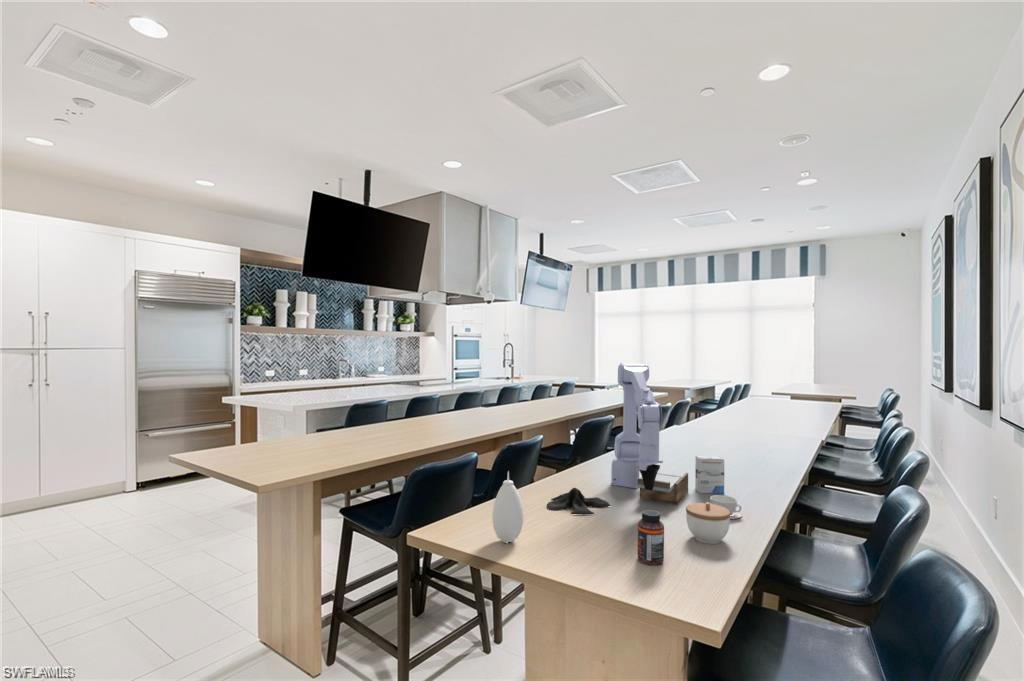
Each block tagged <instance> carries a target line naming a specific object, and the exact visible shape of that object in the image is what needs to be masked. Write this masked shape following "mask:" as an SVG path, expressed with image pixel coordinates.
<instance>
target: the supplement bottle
mask: <svg viewBox="0 0 1024 681" xmlns="http://www.w3.org/2000/svg"><path fill="white" fill-rule="evenodd" d="M637 559H638V561H639V562H640V563H642V564H644V565H647V564H648V566H653V565H654V566H661V565H662V564H663V563H664V560H665V524H664V523H663V521H661V513H660V512H659V511H658V510H653V509H645V510H643V511H642V512H641V519H640V520H638V522H637Z"/></svg>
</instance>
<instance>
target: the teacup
mask: <svg viewBox="0 0 1024 681" xmlns="http://www.w3.org/2000/svg"><path fill="white" fill-rule="evenodd" d="M709 501H710V504H715V505H719V506H722V507H724V508H726V509H728V510H729V511H730V515H732V514H735V515H734V516H730V519H732V520H734V519H739V518H741V517H742V516H743V515H742V513H741V511H742V505H741V504H740V503H739V504H738V499H736V498H735V497H732V496H729V495H725V494H723V495H722V494H715V495H714V494H713V495H711V496H710V498H709ZM737 507H738V508H739V509H738V510H737Z"/></svg>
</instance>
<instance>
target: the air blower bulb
mask: <svg viewBox="0 0 1024 681" xmlns="http://www.w3.org/2000/svg"><path fill="white" fill-rule="evenodd" d="M506 477H507V478H506V480H504V481H503V482H502V485H501V486H500V488H499V490H498V491H497V494H496V496H495V500H494V502H493V508H492V526H493V530H494V533H495V535H496V537H497V538H498V539H500V541H501V542H503V543H505V542H511V543H512V542H514V541H516V540H517V538H518V537H519V536H520V534H521V532H522V528H523V524H524V507H523V502H522V499H521V496H520V493H519V491H518V489H517V488H516V486H515V485H514V481H513V480H511V479H510V471H509V470H508V471H507V476H506Z"/></svg>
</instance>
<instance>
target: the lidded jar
mask: <svg viewBox="0 0 1024 681" xmlns="http://www.w3.org/2000/svg"><path fill="white" fill-rule="evenodd" d="M685 512H686V513H685V514H686V524H687V527H688V530H689V531H690V533H691V534H692V535H693V537H694V538H695V539H696V541H698V542H700V543H703V544H709V543H710V545H712V544H713V545H714V544H719V543H720V542H721V541H722V540H723V539H725V537H726V536H727V534H728V532H729V528H730V521H731V520H730V511H729V510H728V509H726V508H724V507H722V506H719V505H715V504H711V502H707V501H706V502H705V503H704V502H694V503H689V504H687V505H686V506H685Z"/></svg>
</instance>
